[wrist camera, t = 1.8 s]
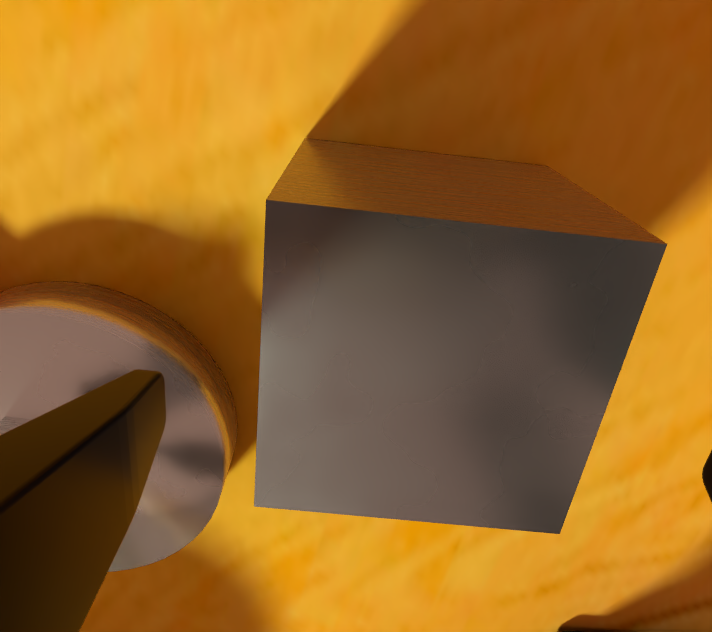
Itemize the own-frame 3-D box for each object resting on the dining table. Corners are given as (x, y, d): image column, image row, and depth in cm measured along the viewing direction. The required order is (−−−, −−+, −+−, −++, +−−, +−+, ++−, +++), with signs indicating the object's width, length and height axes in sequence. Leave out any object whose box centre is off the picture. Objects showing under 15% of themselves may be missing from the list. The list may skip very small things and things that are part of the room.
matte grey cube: (547, 166, 14) (666, 244, 8) (494, 372, 16) (559, 533, 11) (304, 138, 13) (265, 199, 8) (290, 351, 16) (253, 506, 11)
